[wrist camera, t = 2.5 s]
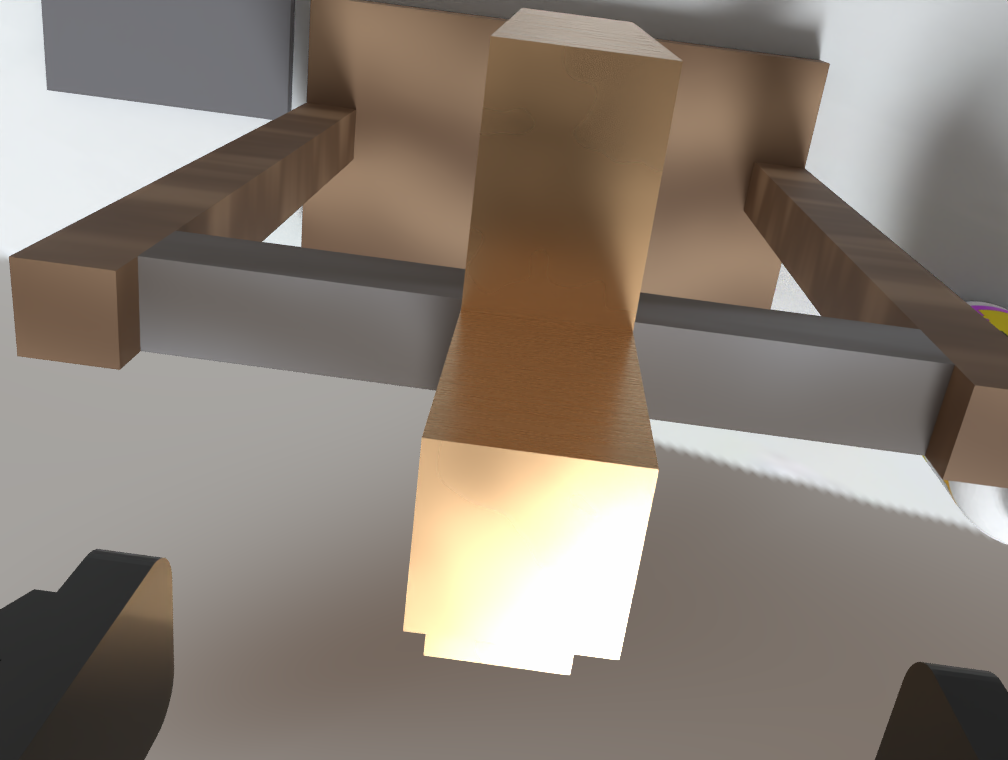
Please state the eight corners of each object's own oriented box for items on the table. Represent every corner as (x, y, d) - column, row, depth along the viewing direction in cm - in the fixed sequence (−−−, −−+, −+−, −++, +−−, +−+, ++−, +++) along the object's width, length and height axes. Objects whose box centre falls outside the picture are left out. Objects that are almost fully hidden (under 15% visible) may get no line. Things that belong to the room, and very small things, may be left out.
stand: (319, -6, 38) (-12, 28, 16) (820, 60, 38) (1168, 184, 16) (309, 238, 42) (32, 531, 20) (763, 298, 42) (980, 659, 20)
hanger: (521, 7, 26) (458, 65, 10) (632, 21, 26) (735, 102, 10) (474, 409, 31) (380, 864, 15) (567, 421, 31) (571, 889, 15)
